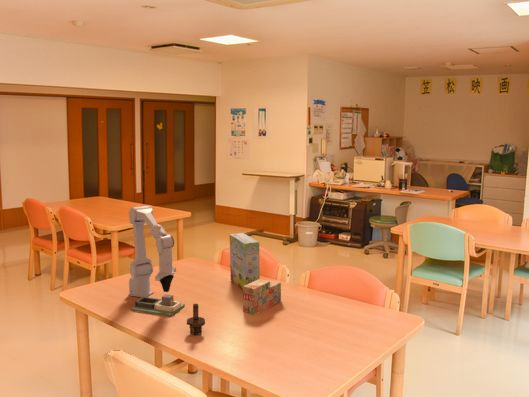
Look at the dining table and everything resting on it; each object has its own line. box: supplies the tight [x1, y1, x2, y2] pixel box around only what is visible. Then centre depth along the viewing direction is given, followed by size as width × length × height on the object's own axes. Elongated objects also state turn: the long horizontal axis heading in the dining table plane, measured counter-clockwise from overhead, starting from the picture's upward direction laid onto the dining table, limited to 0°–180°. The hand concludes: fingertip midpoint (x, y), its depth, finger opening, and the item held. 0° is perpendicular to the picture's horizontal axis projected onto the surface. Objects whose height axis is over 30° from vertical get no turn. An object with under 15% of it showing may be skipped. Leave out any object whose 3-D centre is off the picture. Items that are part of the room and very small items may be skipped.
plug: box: [161, 294, 175, 307], centre depth 226 cm, size 4×3×6 cm
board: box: [130, 296, 186, 317], centre depth 228 cm, size 20×13×3 cm, turn 70°
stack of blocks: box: [242, 278, 282, 316], centre depth 230 cm, size 21×6×12 cm, turn 144°
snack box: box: [228, 232, 261, 291], centre depth 257 cm, size 22×9×26 cm, turn 25°
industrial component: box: [186, 303, 206, 336], centre depth 202 cm, size 9×7×12 cm
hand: (166, 291), depth 225 cm, fingers closed
